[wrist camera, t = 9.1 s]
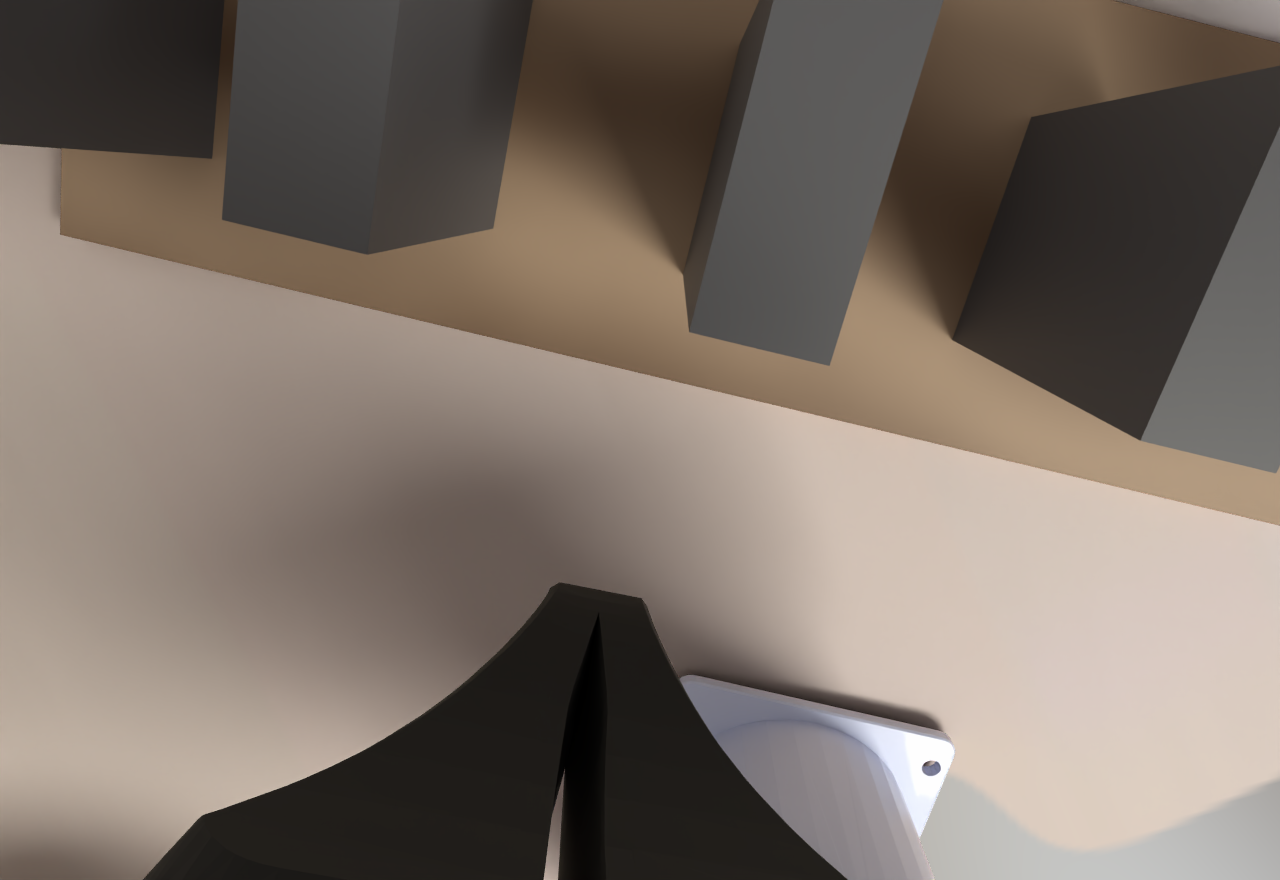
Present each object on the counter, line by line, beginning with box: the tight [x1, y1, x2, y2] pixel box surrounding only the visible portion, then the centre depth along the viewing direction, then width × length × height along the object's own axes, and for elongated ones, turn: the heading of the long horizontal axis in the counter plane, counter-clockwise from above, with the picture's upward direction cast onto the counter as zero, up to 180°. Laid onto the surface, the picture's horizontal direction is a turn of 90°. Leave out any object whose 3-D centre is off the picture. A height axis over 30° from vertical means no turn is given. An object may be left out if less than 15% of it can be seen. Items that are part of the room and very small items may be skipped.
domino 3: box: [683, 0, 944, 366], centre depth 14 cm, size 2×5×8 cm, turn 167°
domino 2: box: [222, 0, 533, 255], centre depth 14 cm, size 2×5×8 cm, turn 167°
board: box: [60, 0, 1280, 525], centre depth 18 cm, size 10×38×1 cm, turn 77°
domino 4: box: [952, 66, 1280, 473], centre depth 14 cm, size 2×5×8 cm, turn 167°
